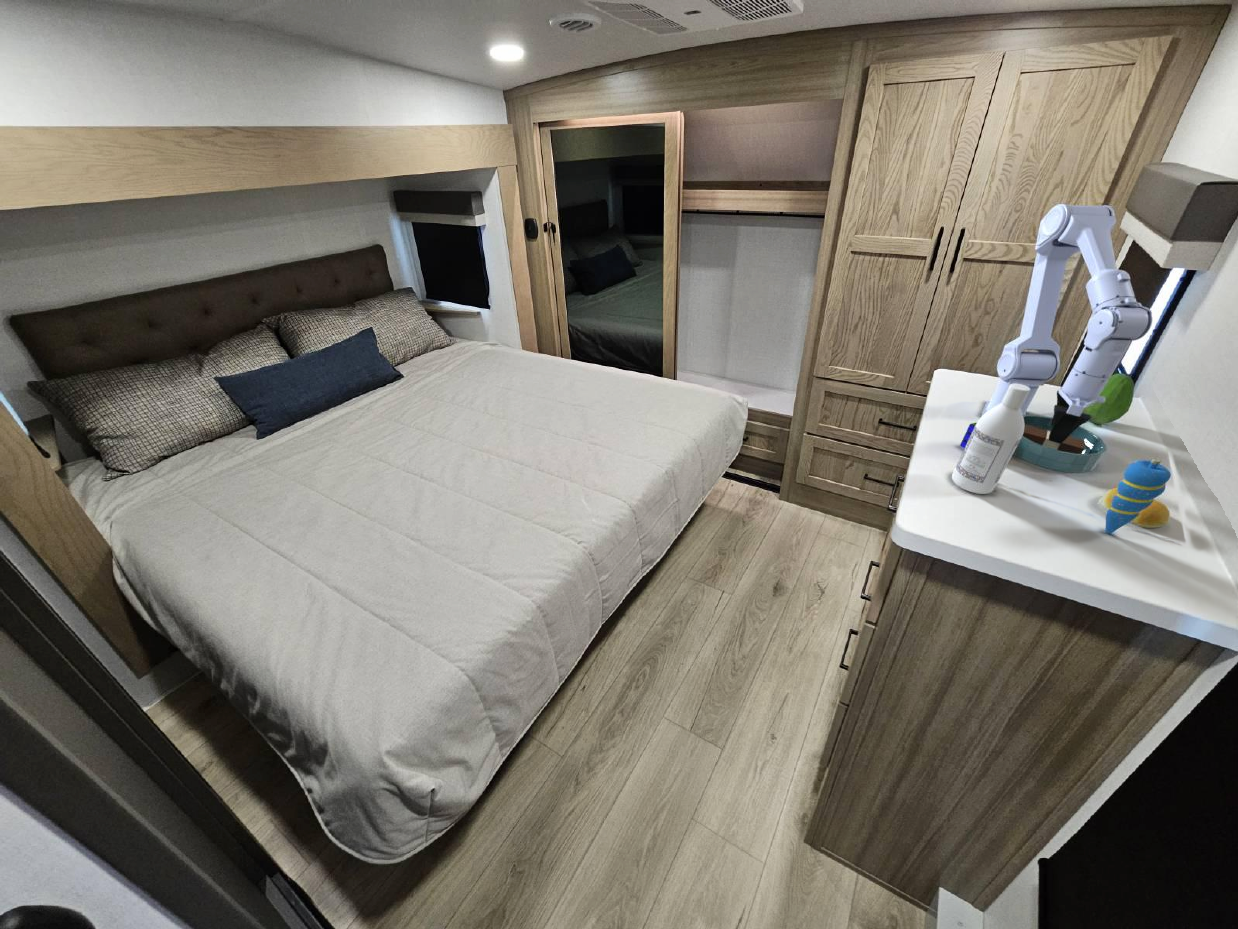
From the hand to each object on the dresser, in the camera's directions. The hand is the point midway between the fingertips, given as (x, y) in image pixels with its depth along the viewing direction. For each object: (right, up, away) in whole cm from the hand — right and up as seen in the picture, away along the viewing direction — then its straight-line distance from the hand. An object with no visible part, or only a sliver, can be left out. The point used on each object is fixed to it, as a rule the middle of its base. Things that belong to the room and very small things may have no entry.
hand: (1055, 434), depth 104 cm
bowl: (0, -4, +3) cm, 5 cm away
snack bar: (0, -3, +2) cm, 4 cm away
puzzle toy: (-14, -4, +2) cm, 14 cm away
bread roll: (+1, -15, -14) cm, 20 cm away
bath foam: (-22, -10, -7) cm, 25 cm away
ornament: (-7, -18, -18) cm, 26 cm away
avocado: (+21, +4, +14) cm, 26 cm away
